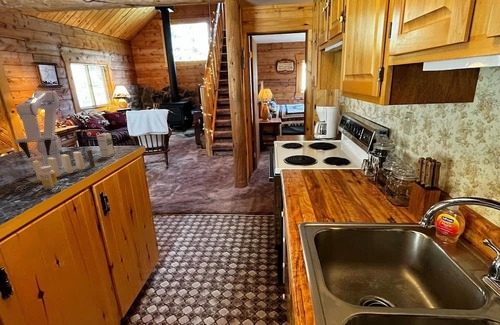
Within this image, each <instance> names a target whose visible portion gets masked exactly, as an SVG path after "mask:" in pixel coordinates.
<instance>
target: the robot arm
mask: <svg viewBox="0 0 500 325" xmlns="http://www.w3.org/2000/svg"><path fill="white" fill-rule="evenodd" d="M59 107H60V97H59V94H58V92H57V91H56V90H45V91H37V90H36V91H35V92H33V96H29V97H28V98H27V99H26V100H24V102H22V103H18V104H17V105H16V113H17V114H18V116H19V119H20V120H21V121H22V126H23V129H24V132H25V137H26V138H20V139H18V138H16V139H14V142H15V145H18V147H20V149H22V150H23V152H24V153H25V155H26V157H27V158H28V159H30V158H32V157H31V153H30V150H29V145H28V143H36V142H37V143H36V145H35V146H36V150H37V152H39V153H40V154H41V155H42V156H41V159H42V164H43V166H49V164H48V161H47V158H50V157H53V158H56V161H57V164H58V168H59V169H64V167H63V164H62V160H61V156H60V155H61V153H60V152H62V149H63V148H62V147H63V145H62V139H60V137H58V136H56V118H57V117H56V115H57V113H56V112H57V109H58V108H59ZM39 109H42V110H44V121H43V122H44V124H43V135H42V132H41V129H40V125H39V124H40V123H39V121H38V116H37V115H38V114H39Z"/></svg>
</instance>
